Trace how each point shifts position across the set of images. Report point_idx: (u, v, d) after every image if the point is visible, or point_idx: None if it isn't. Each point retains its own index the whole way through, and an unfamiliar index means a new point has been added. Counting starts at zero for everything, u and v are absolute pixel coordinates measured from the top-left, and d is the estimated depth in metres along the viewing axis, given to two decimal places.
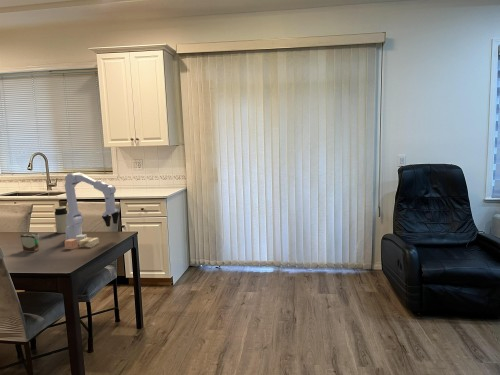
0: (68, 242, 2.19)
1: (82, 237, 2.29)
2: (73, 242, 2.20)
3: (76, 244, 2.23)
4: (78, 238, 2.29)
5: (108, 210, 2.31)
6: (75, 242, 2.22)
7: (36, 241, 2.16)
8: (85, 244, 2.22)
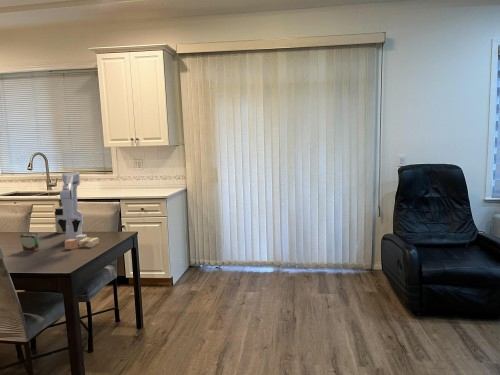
0: (68, 242, 2.19)
1: (82, 237, 2.29)
2: (73, 242, 2.20)
3: (76, 244, 2.23)
4: (78, 238, 2.29)
5: None
6: (75, 242, 2.22)
7: (36, 241, 2.16)
8: (85, 244, 2.22)
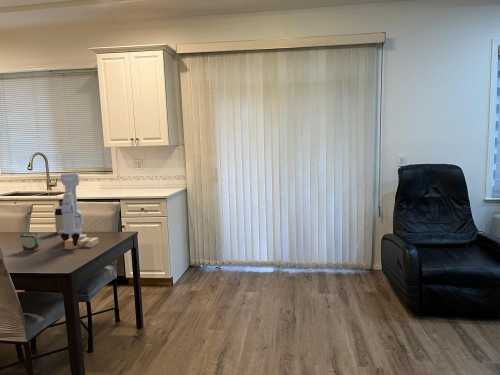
0: (68, 242, 2.19)
1: (82, 237, 2.29)
2: None
3: None
4: (78, 238, 2.29)
5: None
6: None
7: (36, 241, 2.16)
8: (85, 244, 2.22)
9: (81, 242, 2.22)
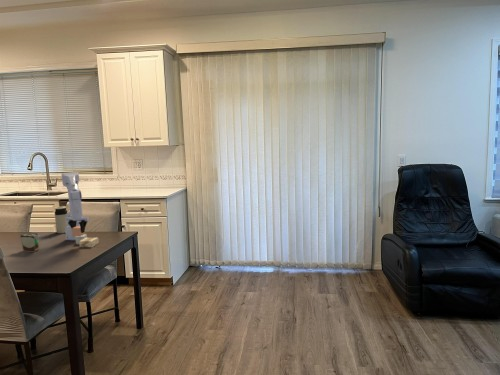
0: (75, 229, 2.20)
1: (82, 237, 2.29)
2: (80, 229, 2.21)
3: None
4: (78, 238, 2.29)
5: None
6: None
7: (36, 241, 2.16)
8: (85, 244, 2.22)
9: (81, 242, 2.22)
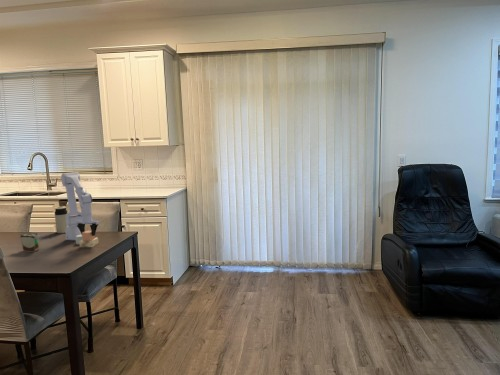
0: (86, 234, 2.23)
1: None
2: (90, 234, 2.24)
3: None
4: (78, 238, 2.29)
5: None
6: None
7: (36, 241, 2.16)
8: (85, 244, 2.22)
9: (81, 242, 2.22)
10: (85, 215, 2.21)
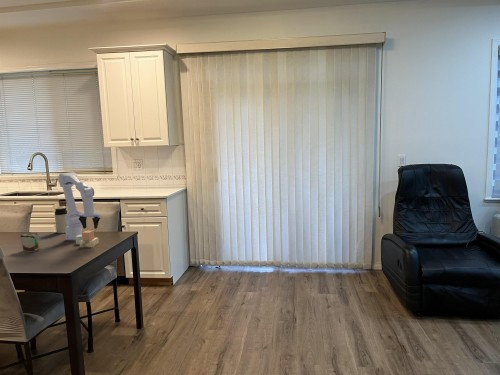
0: (85, 233, 2.23)
1: None
2: (90, 233, 2.24)
3: (93, 235, 2.27)
4: (78, 238, 2.29)
5: None
6: (92, 234, 2.26)
7: (36, 241, 2.16)
8: (85, 244, 2.22)
9: (81, 242, 2.22)
10: (87, 208, 2.24)
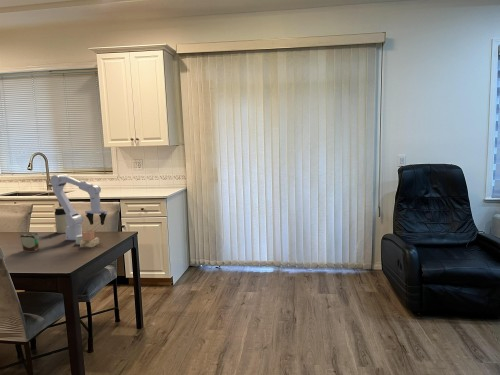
0: (86, 234, 2.23)
1: None
2: (90, 234, 2.24)
3: (93, 235, 2.27)
4: (78, 238, 2.29)
5: None
6: (92, 234, 2.26)
7: (36, 241, 2.16)
8: (86, 244, 2.22)
9: (82, 242, 2.22)
10: (94, 205, 2.33)
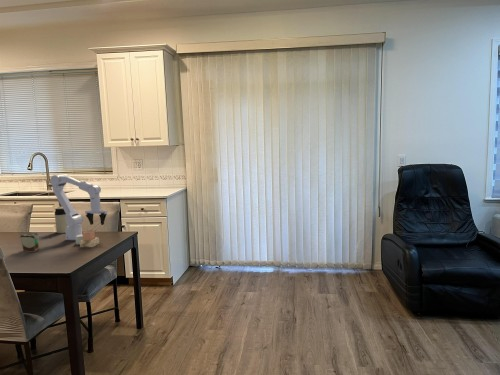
0: (86, 233, 2.23)
1: (82, 237, 2.29)
2: (91, 233, 2.24)
3: (94, 235, 2.27)
4: (78, 238, 2.29)
5: None
6: (92, 234, 2.26)
7: (36, 241, 2.16)
8: (86, 244, 2.22)
9: (82, 242, 2.22)
10: (94, 205, 2.33)
